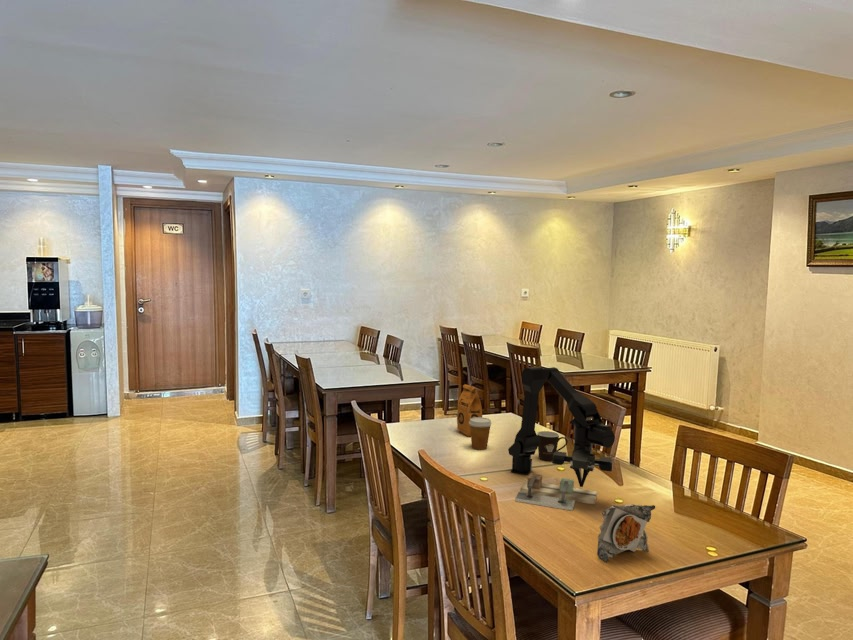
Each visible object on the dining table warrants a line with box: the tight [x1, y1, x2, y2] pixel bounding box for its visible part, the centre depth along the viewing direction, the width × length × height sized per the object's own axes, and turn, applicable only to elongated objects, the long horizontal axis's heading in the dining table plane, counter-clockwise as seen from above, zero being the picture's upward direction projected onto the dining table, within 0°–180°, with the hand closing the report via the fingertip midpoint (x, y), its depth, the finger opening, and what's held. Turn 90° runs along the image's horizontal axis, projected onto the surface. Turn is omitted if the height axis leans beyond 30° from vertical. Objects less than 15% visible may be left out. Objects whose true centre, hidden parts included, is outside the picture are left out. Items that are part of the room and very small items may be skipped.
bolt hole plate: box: [514, 491, 576, 512], centre depth 180 cm, size 18×6×1 cm, turn 69°
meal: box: [596, 503, 656, 564], centre depth 146 cm, size 15×4×13 cm, turn 113°
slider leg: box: [559, 477, 575, 501], centre depth 182 cm, size 4×12×3 cm, turn 159°
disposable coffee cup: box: [469, 416, 492, 451], centre depth 235 cm, size 10×10×12 cm
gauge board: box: [519, 472, 598, 505], centre depth 184 cm, size 24×14×5 cm, turn 69°
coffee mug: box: [536, 430, 569, 462], centre depth 223 cm, size 12×9×10 cm
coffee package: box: [456, 383, 483, 438], centre depth 256 cm, size 10×12×22 cm
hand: (581, 486), depth 184 cm, fingers closed
